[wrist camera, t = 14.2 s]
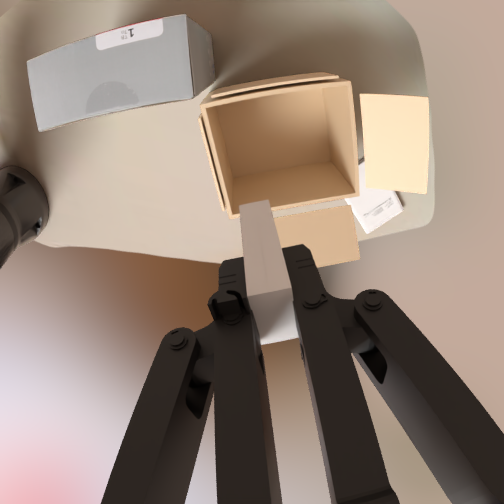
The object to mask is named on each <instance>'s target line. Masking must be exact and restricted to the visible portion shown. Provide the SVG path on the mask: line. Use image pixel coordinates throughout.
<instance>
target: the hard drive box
mask: <svg viewBox="0 0 504 504" xmlns="http://www.w3.org/2000/svg"><path fill="white" fill-rule="evenodd" d="M27 70H28V77H29V84H30V90H31V97H32V102H33V107H34V112H35V117H36V122H37V126H38V131H40V132H43V131H47V130H51V129H54V128H58V127H61V126H65V125H68V124H72V123H76V122H79V121H83V120H87V119H91V118H95V117H99V116H104V115H108V114H113V113H117V112H122V111H127V110H133V109H138V108H144V107H150V106H156V105H162V104H168V103H174V102H181V101H187V100H191V99H193V98H194V97H196V96H197V95H199V94H200V93H201V92H202V91H204V90H205V89H206V88H208V87H209V86H210V85H212V84H213V83H214V81H215V69H214V58H213V47H212V37H211V34H210V33H209V32H208V31H206V30H205V29H204V28H202V27H201V26H200V25H199V24H197V23H196V22H194V21H193V20H192V19H190V18H189V17H188V16H186V14H180V15H174V16H169V17H162V18H157V19H152V20H148V21H143V22H139V23H134V24H130V25H127V26H123V27H119V28H116V29H112V30H109V31H106V32H103V33H99V34H96V35H94V36H91V37H87V38H84V39H81V40H78V41H75V42H72V43H69V44H67V45H64V46H61V47H59V48H56V49H54V50H51V51H49V52H46V53H44V54H42V55H39V56H37V57H35V58H33V59H30V60H28V61H27Z"/></svg>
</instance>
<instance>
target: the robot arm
mask: <svg viewBox="0 0 504 504" xmlns="http://www.w3.org/2000/svg"><path fill="white" fill-rule="evenodd" d="M239 210H240V222H241V233H242V245H243V256H244V257H239V258H234V259H230V260H225V261H223V262H222V264H221V266H220V268H219V291H217V292H216V293H214V294H213V295H212V297H211V298H210V299H209V301H208V307H209V309H210V311H211V314H212V317H213V319H214V321H213V322H212V323H211V324H209V325H208V326H206V327H205V328H202V329H200V330H198V331H196V332H193V331H192V330H190V329H188V328H184V327H183V328H177V329H174V330H172V331H170V332H169V333H168V334H167V335H165V337H164V338H163V340H162V342H161V344H160V347H159V349H158V351H157V354H156V356H155V358H154V361H153V363H152V366H151V368H150V371H149V373H148V376H147V379H146V381H145V383H144V386H143V388H142V391H141V394H140V396H139V399H138V402H137V404H136V406H135V409H134V412H133V414H132V417H131V420H130V423H129V425H128V428H127V430H126V433H125V436H124V439H123V441H122V444H121V447H120V449H119V453H118V455H117V458H116V461H115V463H114V466H113V469H112V472H111V475H110V478H109V481H108V484H107V487H106V490H105V493H104V496H103V499H102V502H101V504H185V500H186V496H187V492H188V488H189V485H190V481H191V477H192V473H193V469H194V466H195V462H196V458H197V454H198V450H199V446H200V443H201V439H202V435H203V431H204V427H205V424H206V420H207V416H208V412H209V408H210V405H211V401H212V397H213V393H214V410H215V411H214V414H215V454H216V481H217V482H216V483H217V503H218V504H282V497H281V489H280V482H279V474H278V466H277V458H276V451H275V443H274V435H273V427H272V419H271V412H270V404H269V396H268V389H267V380H266V372H265V365H264V357H263V353H262V350H261V344H262V345H263V344H268V343H274V342H279V341H284V340H289V339H294V338H299V341H300V348H301V356H302V360H303V362H304V367H305V372H306V376H307V381H308V385H309V390H310V395H311V400H312V405H313V410H314V415H315V420H316V425H317V430H318V435H319V440H320V445H321V450H322V455H323V461H324V466H325V471H326V476H327V482H328V487H329V493H330V498H331V504H400V503H399V500H398V497H397V495H396V493H395V492H394V491H393V489H392V488H391V486H390V484H389V480H388V477H387V473H386V469H385V465H384V461H383V458H382V454H381V450H380V447H379V443H378V440H377V436H376V433H375V429H374V426H373V422H372V419H371V416H370V412H369V409H368V406H367V402H366V400H365V396H364V393H363V390H362V386H361V383H360V380H359V377H358V374H357V371H356V368H355V365H354V362H353V359H352V356H351V353H353V355H354V356H355V358H356V359H357V361H358V362H359V363H360V365H361V366H362V368H363V369H364V371H365V372H366V374H367V375H368V377H369V378H370V380H371V381H372V383H373V384H374V386H375V387H376V389H377V390H378V391H379V393H380V394H381V396H382V397H383V399H384V400H385V402H386V403H387V405H388V406H389V408H390V409H391V411H392V412H393V414H394V415H395V417H396V418H397V420H398V421H399V423H400V424H401V426H402V427H403V429H404V430H405V432H406V433H407V435H408V436H409V438H410V440H411V441H412V443H413V444H414V446H415V447H416V449H417V450H418V452H419V453H420V455H421V456H422V458H423V459H424V461H425V462H426V464H427V466H428V467H429V469H430V470H431V472H432V473H433V475H434V477H435V478H436V480H437V481H438V483H439V484H440V486H441V488H442V489H443V491H444V492H445V494H446V496H447V497H448V498H449V500H450V501H451V502H452V504H504V434H503V432H502V431H501V430H500V428H499V427H498V426H497V424H496V423H495V422H494V420H493V419H492V418H491V417H490V415H489V414H488V412H487V411H486V410H485V408H484V407H483V406H482V405H481V403H480V402H479V401H478V400H477V399H476V397H475V396H474V395H473V393H472V392H471V391H470V390H469V388H468V387H467V386H466V384H465V383H464V382H463V381H462V380H461V378H460V377H459V376H458V375H457V373H456V372H455V371H454V370H453V369H452V367H451V366H450V365H449V364H448V363H447V361H446V360H445V359H444V358H443V357H442V355H441V354H440V353H439V352H438V351H437V350H436V348H435V347H434V346H433V345H432V344H431V343H430V341H429V340H428V339H427V338H426V337H425V336H424V335H423V334H422V332H421V331H420V330H419V329H418V328H417V327H416V326H415V324H414V323H413V322H412V321H411V320H410V319H409V318H408V317H407V316H406V314H405V313H404V312H403V311H402V310H401V309H400V308H399V307H398V306H397V305H396V304H395V303H394V301H393V300H392V299H391V298H390V297H389V296H388V295H387V294H385V293H384V292H382V291H379V290H375V289H373V290H372V289H369V290H365V291H362V292H361V293H360V294H358V295H357V296H356V298H355V299H354V300H348V299H339V298H335V297H333V296H331V295H330V294H328V293H327V292H326V290H325V288H324V286H323V283H322V280H321V277H320V275H319V272H318V269H317V267H316V264H315V261H314V259H313V256H312V253H311V251H310V249H309V248H307V247H306V246H305V245H304V244H299V245H295V246H290V247H285V248H281V244H280V241H279V237H278V233H277V229H276V226H275V222H274V218H273V214H272V211H271V207H270V203H269V200H263V201H258V202H253V203H248V204H243V205H239ZM48 215H49V209H48V202H47V199H46V196H45V193H44V191H43V189H42V187H41V185H40V184H39V182H38V181H37V180H36V179H35V177H34V176H33V175H31V174H30V173H29V172H28V171H26V170H24V169H22V168H20V167H16V166H8V167H5V168H3V169H1V170H0V269H1V268H2V266H3V265H4V264H5V262H6V261H7V260H8V258H9V257H10V256H11V254H12V253H13V252H14V251H15V249H17V248H19V247H21V246H23V245H25V244H27V243H29V242H31V241H33V240H34V239H35V238H37V237H38V236H39V234H40V233H41V232H42V231H43V229H44V228H45V226H46V224H47V221H48ZM260 342H261V343H260Z"/></svg>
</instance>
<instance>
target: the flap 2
mask: <svg viewBox="0 0 504 504" xmlns="http://www.w3.org/2000/svg"><path fill="white" fill-rule="evenodd" d="M360 103H361V114H362V126H363V140H364V157H365V182H366V188H373V189H384V190H393V191H403V192H412V193H420V194H427V180H428V159H429V101H428V97H423V96H410V95H393V94H360Z"/></svg>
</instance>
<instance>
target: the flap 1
mask: <svg viewBox="0 0 504 504" xmlns="http://www.w3.org/2000/svg"><path fill="white" fill-rule="evenodd" d="M274 222H275V226H276V229H277V233H278V237H279V241H280V244H281V248H285V247H290V246H295V245H299V244H304V245H305V246H306V247H307V248H309V249H310V251H311V253H312V256H313V259H314V261H315V264H316V267H322V266H328V265H333V264H338V263H343V262H348V261H353V260H359V259H360V255H359V247H358V241H357V235H356V229H355V224H354V218H353V213H352V207H351V205H346V206H340V207H334V208H328V209H322V210H317V211H311V212H305V213H300V214H294V215H288V216H283V217H277V218H274Z"/></svg>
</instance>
